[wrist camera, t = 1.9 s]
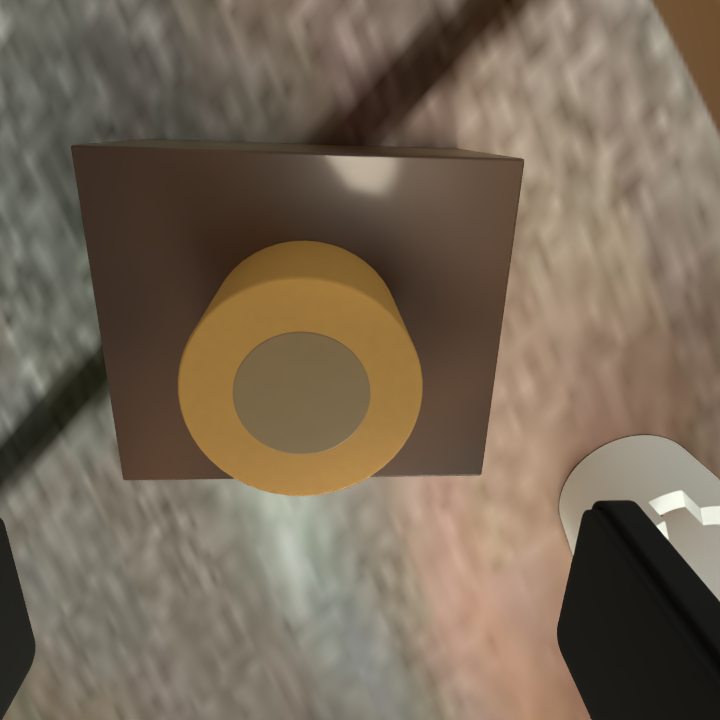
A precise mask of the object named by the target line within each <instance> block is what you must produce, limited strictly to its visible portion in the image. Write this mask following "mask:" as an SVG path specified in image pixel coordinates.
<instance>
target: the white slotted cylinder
mask: <svg viewBox="0 0 720 720" xmlns="http://www.w3.org/2000/svg"><path fill="white" fill-rule="evenodd" d="M601 500H631V501H634V502H635V503H637V504H638V505H639V506H640V508H641V509H642V510H643V511H644V512H645V513H646V515H647V516H648V517H649V518H650V519H651V521H652V522H653V523H654V524H655V525H656V527H657V528H658V529H659V530H660V531H661V532H662V534H663V535H664V536H665V537H666V538H667V540H668V541H669V542H670V543H671V544H672V545H673V547H674V548H675V549H676V550H677V551H678V553H679V554H680V555H681V556H682V557H683V558H684V560H685V561H686V562H687V563H688V564H689V566H690V567H691V568H692V569H693V570H694V572H695V573H696V574H697V575H698V576H699V577H700V579H701V580H702V581H703V582H704V583H705V585H706V586H707V587H708V588H709V589H710V590H711V592H712V593H713V594H714V595H715V596H716V598H717V599H718V600H719V601H720V480H719V479H718V478H717V477H716V476H715V475H714V474H712V473H711V472H710V471H709V470H708V469H707V468H706V467H704V466H703V465H702V464H701V463H700V462H699V461H698V460H696V459H695V458H694V457H693V456H692V455H691V454H690V453H688V452H687V451H686V450H685V449H684V448H683V447H681V446H680V445H679V444H677V443H675V442H673V441H671V440H669V439H666V438H663V437H658V436H651V435H638V436H630V437H626V438H622V439H618V440H615V441H613V442H610V443H608V444H606V445H604V446H602V447H600V448H598V449H597V450H595V451H594V452H592V453H591V454H590V455H588V456H587V457H586V458H585V459H583V460H582V461H581V462H580V463H579V464H578V465H577V466H576V468H575V469H574V470H573V471H572V473H571V474H570V476H569V477H568V479H567V480H566V482H565V485H564V487H563V489H562V492H561V496H560V501H559V513H560V518H561V521H562V524H563V527H564V530H565V533H566V536H567V539H568V542H569V545H570V549H571V552H572V555H574V550H575V546H576V541H577V537H578V532H579V528H580V523H581V519H582V515H583V513H584V511H585V510H591V509H592V506H593V504H594V503H595V502H596V501H601ZM664 513H665V514H664ZM662 514H664V515H663V516H662V517H661V516H660V515H662Z"/></svg>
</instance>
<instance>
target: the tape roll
mask: <svg viewBox="0 0 720 720" xmlns="http://www.w3.org/2000/svg"><path fill="white" fill-rule="evenodd" d="M422 385H423V380H422V372H421V365H420V362H419V358H418V355H417V352H416V349H415V347H414V345H413V343H412V340H411V338H410V336H409V333H408V331H407V329H406V327H405V324H404V322H403V320H402V318H401V315H400V313H399V311H398V308H397V306H396V304H395V302H394V299H393V297H392V295H391V293H390V291H389V289H388V287H387V286H386V284H385V283H384V281H383V280H382V278H381V277H380V276H379V275H378V274H377V272H376V271H375V270H374V269H373V268H372V267H370V266H369V265H368V264H367V263H366V262H365V261H363V260H362V259H360V258H359V257H358V256H356V255H355V254H353V253H351V252H349V251H347V250H345V249H343V248H340V247H337V246H334V245H331V244H327V243H322V242H316V241H290V242H285V243H279V244H276V245H273V246H270V247H266V248H264V249H262V250H260V251H258V252H256V253H254V254H253V255H251V256H249V257H248V258H246V259H245V260H243V261H242V262H241V263H240V264H239V265H238V266H237V267H236V268H234V269H233V271H232V272H231V273H230V274H229V275H228V276H227V278H226V279H225V281H224V282H223V284H222V285H221V287H220V288H219V290H218V292H217V293H216V295H215V297H214V298H213V300H212V301H211V303H210V305H209V306H208V308H207V310H206V311H205V313H204V315H203V316H202V318H201V319H200V321H199V323H198V324H197V326H196V328H195V329H194V331H193V333H192V334H191V336H190V338H189V340H188V342H187V344H186V347H185V349H184V351H183V355H182V358H181V362H180V365H179V374H178V397H179V403H180V408H181V412H182V415H183V418H184V421H185V424H186V426H187V428H188V430H189V432H190V434H191V436H192V437H193V439H194V440H195V442H196V443H197V445H198V446H199V448H200V449H201V450H202V451H203V452H204V454H205V455H206V456H207V457H208V458H209V459H210V460H211V461H212V462H213V463H214V464H215V465H217V466H218V467H219V468H220V469H221V470H223V471H224V472H226V473H227V474H229V475H230V476H232V477H233V478H235V479H237V480H239V481H241V482H243V483H245V484H247V485H249V486H252V487H254V488H257V489H260V490H264V491H267V492H271V493H276V494H283V495H292V496H309V495H320V494H325V493H331V492H335V491H338V490H342V489H345V488H348V487H350V486H352V485H355V484H357V483H359V482H361V481H363V480H365V479H367V478H368V477H370V476H372V475H373V474H375V473H376V472H377V471H379V470H380V469H381V468H383V467H384V466H385V465H386V464H387V463H388V462H389V461H390V460H391V459H393V458H394V456H395V455H396V454H397V453H398V452H399V450H400V449H401V448H402V447H403V445H404V444H405V442H406V440H407V439H408V437H409V436H410V434H411V432H412V430H413V427H414V425H415V423H416V421H417V417H418V414H419V411H420V407H421V400H422Z"/></svg>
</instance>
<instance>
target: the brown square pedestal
mask: <svg viewBox="0 0 720 720" xmlns="http://www.w3.org/2000/svg"><path fill="white" fill-rule="evenodd" d="M71 150H72V156H73V162H74V169H75V175H76V181H77V188H78V194H79V201H80V207H81V213H82V220H83V226H84V232H85V239H86V245H87V251H88V258H89V264H90V270H91V277H92V283H93V289H94V296H95V302H96V309H97V315H98V321H99V328H100V334H101V340H102V347H103V353H104V359H105V366H106V372H107V378H108V385H109V391H110V397H111V404H112V410H113V417H114V423H115V429H116V436H117V442H118V448H119V455H120V461H121V467H122V474H123V479H124V480H182V479H235V478H233V477H232V476H230V475H229V474H227V473H226V472H224V471H223V470H221V469H220V468H219V467H218V466H217V465H215V464H214V463H213V462H212V461H211V460H210V459H209V458H208V457H207V456H206V455H205V454H204V452H203V451H202V450H201V449H200V448H199V446H198V445H197V443H196V442H195V440H194V439H193V437H192V436H191V434H190V432H189V430H188V428H187V426H186V424H185V421H184V418H183V415H182V412H181V408H180V403H179V397H178V374H179V365H180V362H181V358H182V355H183V351H184V349H185V347H186V344H187V342H188V340H189V338H190V336H191V334H192V333H193V331H194V329H195V328H196V326H197V324H198V323H199V321H200V319H201V318H202V316H203V315H204V313H205V311H206V310H207V308H208V306H209V305H210V303H211V301H212V300H213V298H214V297H215V295H216V293H217V292H218V290H219V288H220V287H221V285H222V284H223V282H224V281H225V279H226V278H227V276H228V275H229V274H230V273H231V272H232V271H233V269H234V268H236V267H237V266H238V265H239V264H240V263H241V262H242V261H243V260H245V259H246V258H248V257H249V256H251V255H253V254H254V253H256V252H258V251H260V250H262V249H264V248H266V247H270V246H273V245H276V244H279V243H285V242H290V241H316V242H322V243H327V244H331V245H334V246H337V247H340V248H343V249H345V250H347V251H349V252H351V253H353V254H355V255H356V256H358V257H359V258H360V259H362V260H363V261H365V262H366V263H367V264H368V265H369V266H370V267H372V268H373V269H374V270H375V271H376V272H377V274H378V275H379V276H380V277H381V278H382V280H383V281H384V283H385V284H386V286H387V287H388V289H389V291H390V293H391V295H392V297H393V299H394V302H395V304H396V306H397V308H398V311H399V313H400V315H401V318H402V320H403V322H404V324H405V327H406V329H407V331H408V333H409V336H410V338H411V340H412V343H413V345H414V347H415V349H416V352H417V355H418V358H419V362H420V365H421V372H422V380H423V385H422V400H421V407H420V411H419V414H418V417H417V421H416V423H415V425H414V427H413V430H412V432H411V434H410V436H409V437H408V439H407V440H406V442H405V444H404V445H403V447H402V448H401V449H400V450H399V452H398V453H397V454H396V455H395V456H394V458H393V459H391V460H390V461H389V462H388V463H387V464H386V465H385V466H384V467H383V468H381V469H380V470H379V471H377V472H376V473H375V474H373V475H372V476H370V477H399V476H471V475H481V473H482V466H483V459H484V451H485V444H486V437H487V429H488V422H489V415H490V408H491V400H492V393H493V386H494V378H495V371H496V364H497V357H498V349H499V342H500V335H501V327H502V320H503V313H504V306H505V298H506V291H507V284H508V276H509V269H510V262H511V254H512V247H513V240H514V233H515V225H516V218H517V211H518V203H519V196H520V189H521V182H522V174H523V167H524V159H521V158H515V157H508V156H502V155H495V154H489V153H482V152H476V151H469V150H462V149H448V148H416V147H385V146H354V145H323V144H291V143H260V142H229V141H198V140H167V139H148V140H133V141H119V142H105V143H91V144H77V145H72V146H71Z"/></svg>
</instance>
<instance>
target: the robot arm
mask: <svg viewBox="0 0 720 720" xmlns="http://www.w3.org/2000/svg"><path fill="white" fill-rule="evenodd" d="M557 638H558V644H559V648H560V651H561V653H562V656H563V658H564V660H565V662H566V664H567V667H568V669H569V671H570V673H571V675H572V677H573V680H574V682H575V684H576V686H577V688H578V691H579V693H580V695H581V697H582V699H583V702H584V704H585V706H586V708H587V710H588V713H589V715H590V717H591V719H592V720H720V601H719V600H718V599H717V598H716V596H715V595H714V594H713V593H712V592H711V590H710V589H709V588H708V587H707V586H706V585H705V583H704V582H703V581H702V580H701V579H700V577H699V576H698V575H697V574H696V573H695V572H694V570H693V569H692V568H691V567H690V566H689V564H688V563H687V562H686V561H685V560H684V558H683V557H682V556H681V555H680V554H679V553H678V551H677V550H676V549H675V548H674V547H673V545H672V544H671V543H670V542H669V541H668V540H667V538H666V537H665V536H664V535H663V534H662V532H661V531H660V530H659V529H658V528H657V527H656V525H655V524H654V523H653V522H652V521H651V519H650V518H649V517H648V516H647V515H646V513H645V512H644V511H643V510H642V509H641V508H640V506H639V505H638V504H637V503H635V502H634V501H631V500H601V501H596V502H595V503H594V504H593V506H592V509H591V510H585V511H584V513H583V515H582V519H581V523H580V528H579V532H578V537H577V541H576V546H575V550H574V555H573V559H572V564H571V568H570V573H569V577H568V582H567V586H566V591H565V595H564V600H563V604H562V609H561V613H560V618H559V622H558V627H557ZM34 655H35V640H34V636H33V632H32V628H31V624H30V620H29V616H28V613H27V609H26V605H25V601H24V597H23V593H22V589H21V586H20V582H19V578H18V574H17V570H16V566H15V563H14V559H13V555H12V551H11V547H10V543H9V539H8V536H7V532H6V528H5V524H4V522H3V520H2V519H1V518H0V720H2V719H3V717H4V715H5V713H6V711H7V710H8V708H9V706H10V704H11V702H12V701H13V699H14V697H15V695H16V693H17V691H18V690H19V688H20V686H21V684H22V682H23V680H24V679H25V677H26V675H27V673H28V671H29V669H30V667H31V665H32V662H33V659H34Z"/></svg>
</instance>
